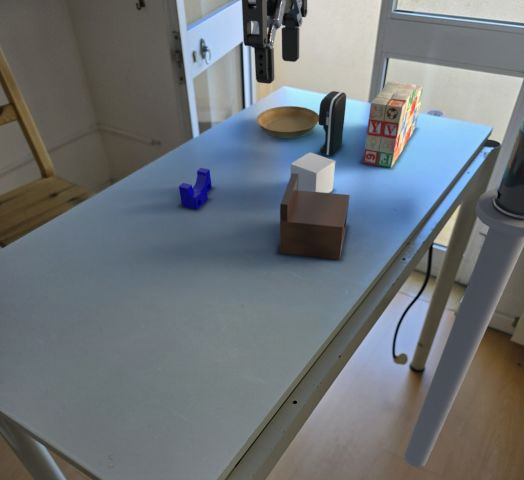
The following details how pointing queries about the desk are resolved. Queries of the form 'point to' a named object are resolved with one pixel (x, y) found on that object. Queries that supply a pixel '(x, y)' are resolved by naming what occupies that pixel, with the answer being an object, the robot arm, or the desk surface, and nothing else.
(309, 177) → the white cube
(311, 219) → the brown boxy piece
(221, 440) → the desk surface
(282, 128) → the plant saucer
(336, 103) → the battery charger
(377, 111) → the stack of blocks
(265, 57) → the robot arm
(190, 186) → the cable holder
